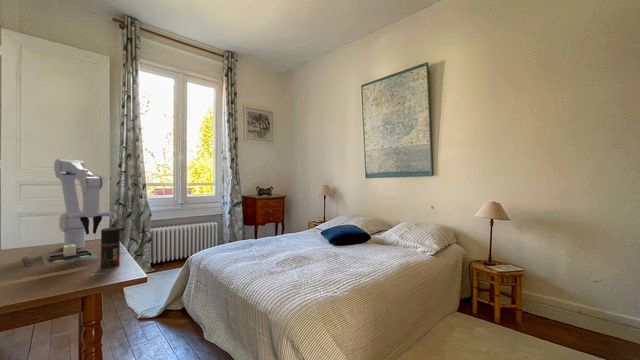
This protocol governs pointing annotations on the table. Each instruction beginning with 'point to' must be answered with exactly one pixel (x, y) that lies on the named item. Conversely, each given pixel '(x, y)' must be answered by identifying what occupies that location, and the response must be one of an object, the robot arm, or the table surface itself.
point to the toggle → (69, 250)
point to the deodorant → (110, 248)
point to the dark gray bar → (26, 261)
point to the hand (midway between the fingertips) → (90, 233)
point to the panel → (68, 257)
